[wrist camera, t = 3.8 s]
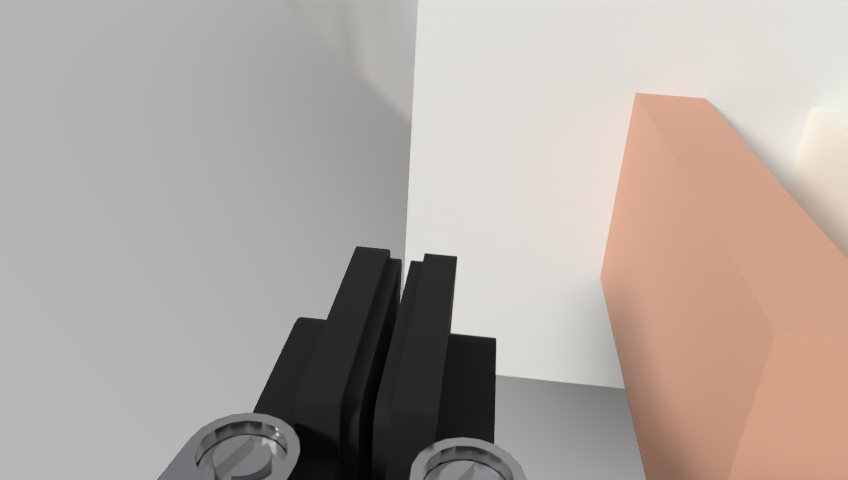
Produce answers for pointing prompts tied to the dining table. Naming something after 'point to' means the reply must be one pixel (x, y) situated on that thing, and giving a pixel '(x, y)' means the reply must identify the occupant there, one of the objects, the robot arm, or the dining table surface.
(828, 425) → the domino
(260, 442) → the robot arm
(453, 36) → the runner mat
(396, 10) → the dining table surface
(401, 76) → the dining table surface
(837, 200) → the domino
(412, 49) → the dining table surface
